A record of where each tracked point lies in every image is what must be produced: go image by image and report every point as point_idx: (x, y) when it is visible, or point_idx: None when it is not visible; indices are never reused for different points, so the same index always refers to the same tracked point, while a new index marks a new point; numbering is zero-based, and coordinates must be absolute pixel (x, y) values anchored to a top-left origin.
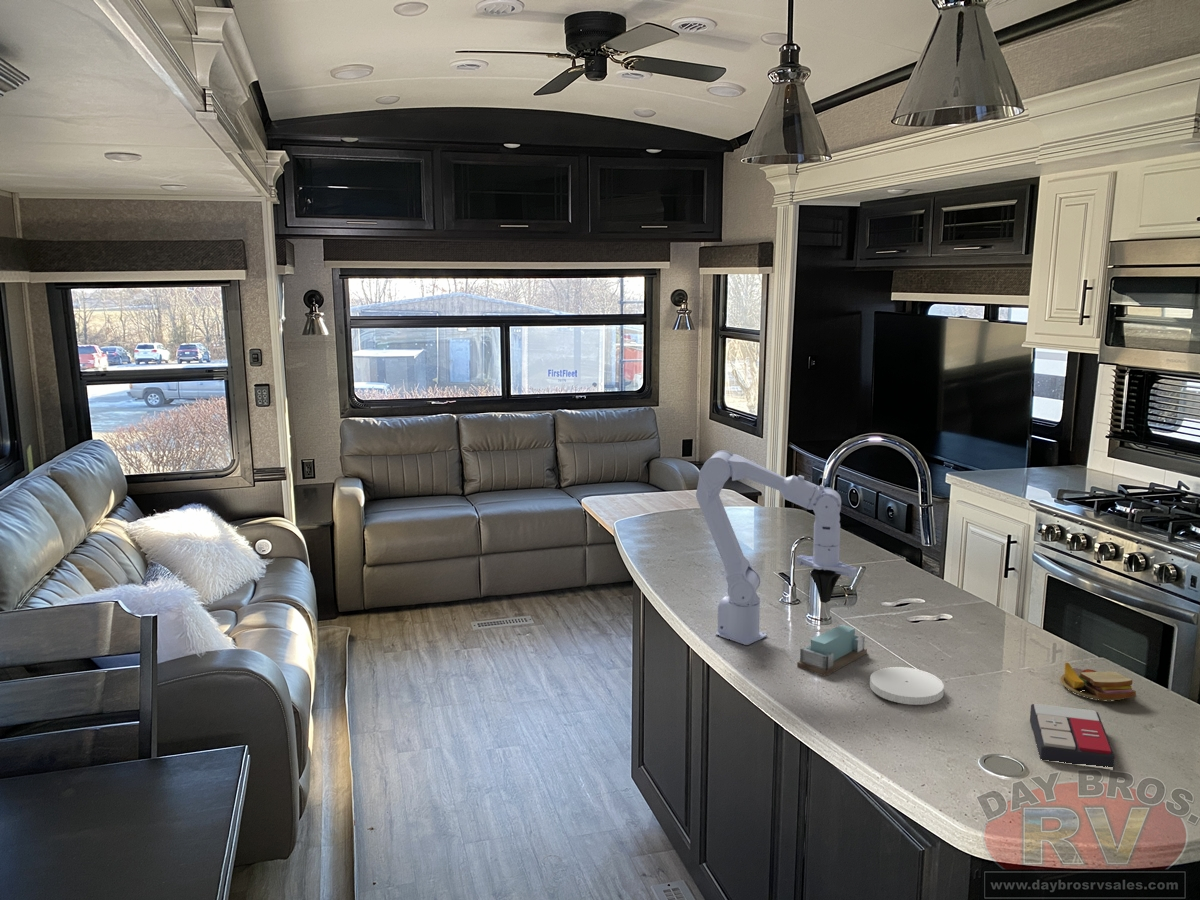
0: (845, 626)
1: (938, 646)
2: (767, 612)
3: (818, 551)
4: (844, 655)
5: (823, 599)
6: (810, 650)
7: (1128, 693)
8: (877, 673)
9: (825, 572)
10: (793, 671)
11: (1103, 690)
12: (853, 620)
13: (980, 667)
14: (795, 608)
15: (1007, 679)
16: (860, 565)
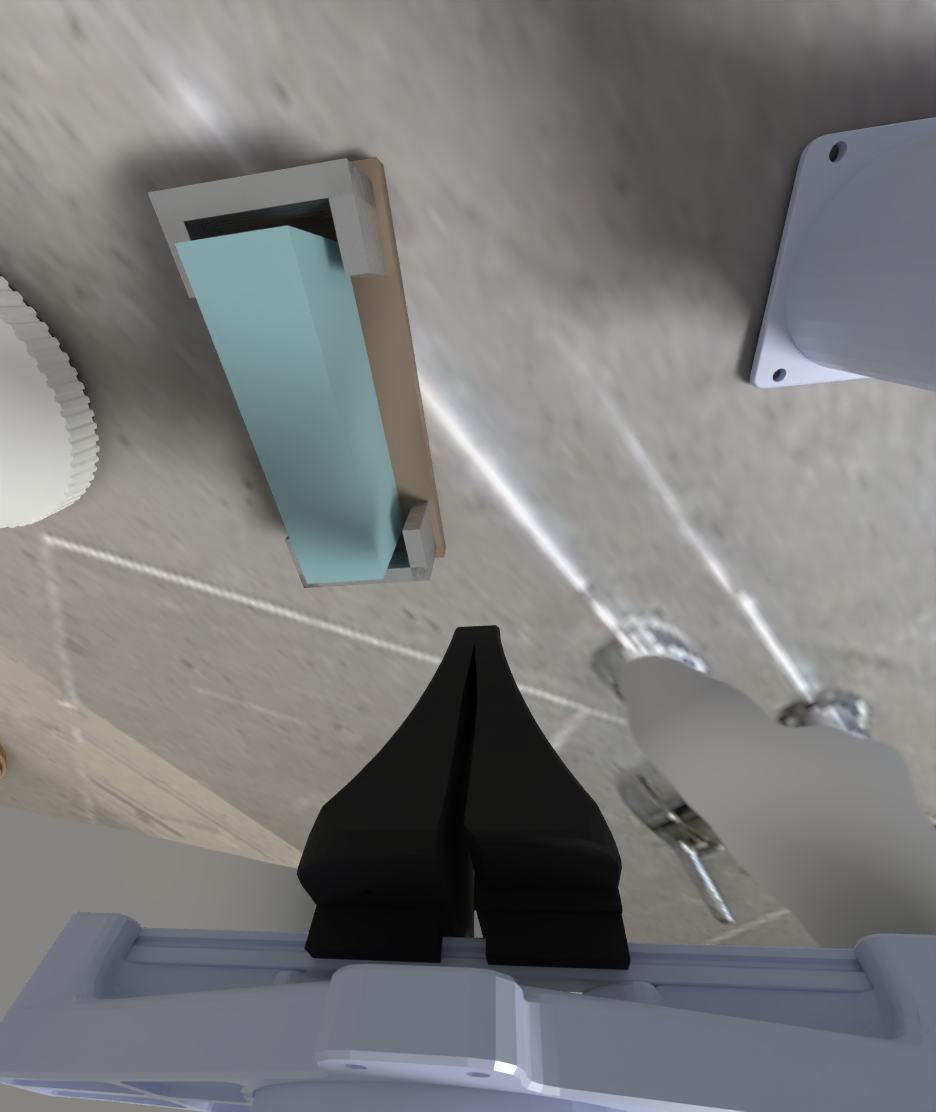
0: (352, 573)
1: (268, 717)
2: (866, 600)
3: None
4: None
5: (464, 639)
6: (284, 196)
7: None
8: (12, 356)
9: (432, 908)
10: (343, 67)
11: None
12: (549, 717)
13: (106, 684)
14: (770, 685)
15: (16, 670)
16: (735, 923)
